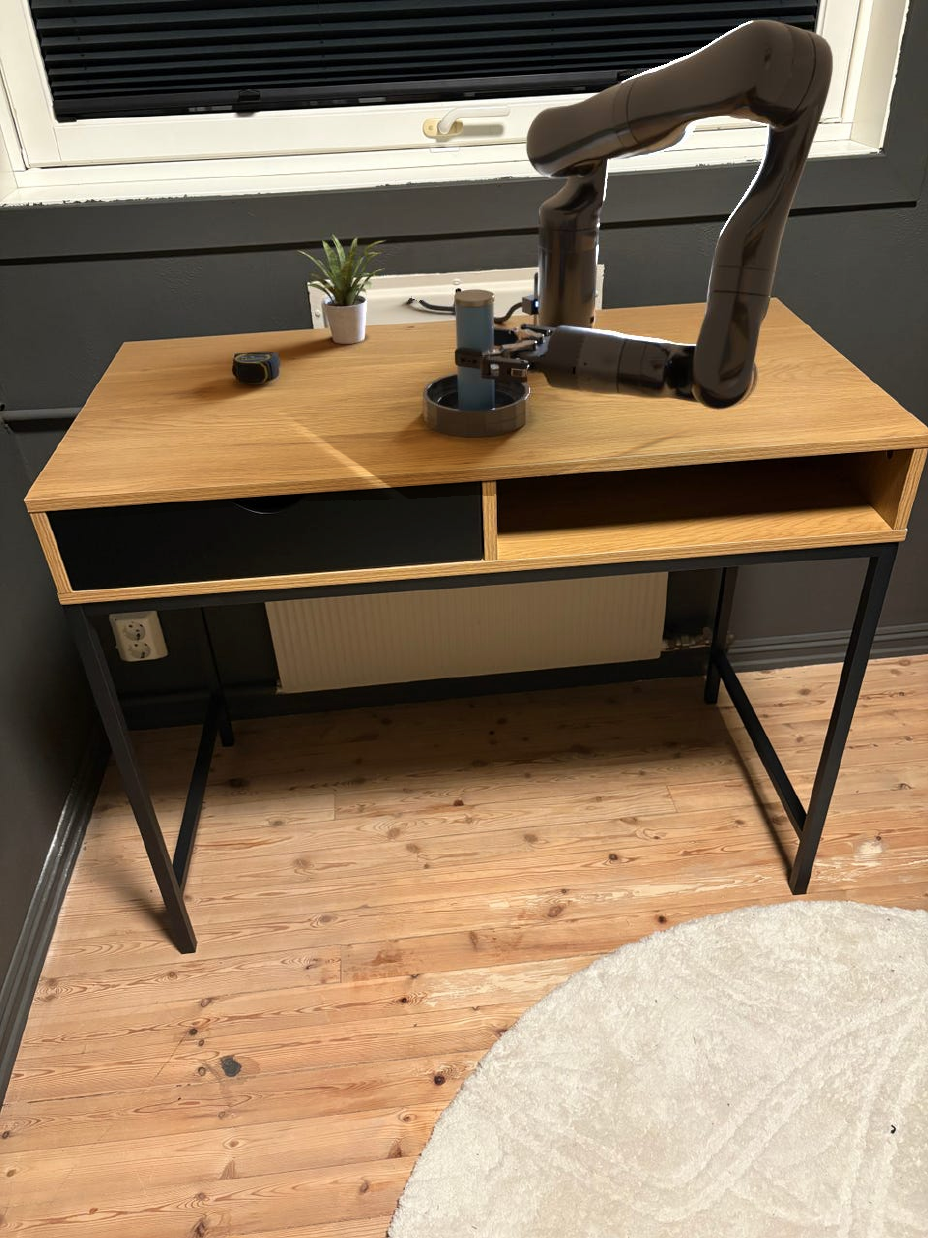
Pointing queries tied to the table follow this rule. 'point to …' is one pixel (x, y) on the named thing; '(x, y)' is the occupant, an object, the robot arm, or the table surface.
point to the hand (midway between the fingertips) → (469, 345)
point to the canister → (474, 346)
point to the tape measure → (256, 367)
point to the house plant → (345, 293)
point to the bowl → (475, 423)
